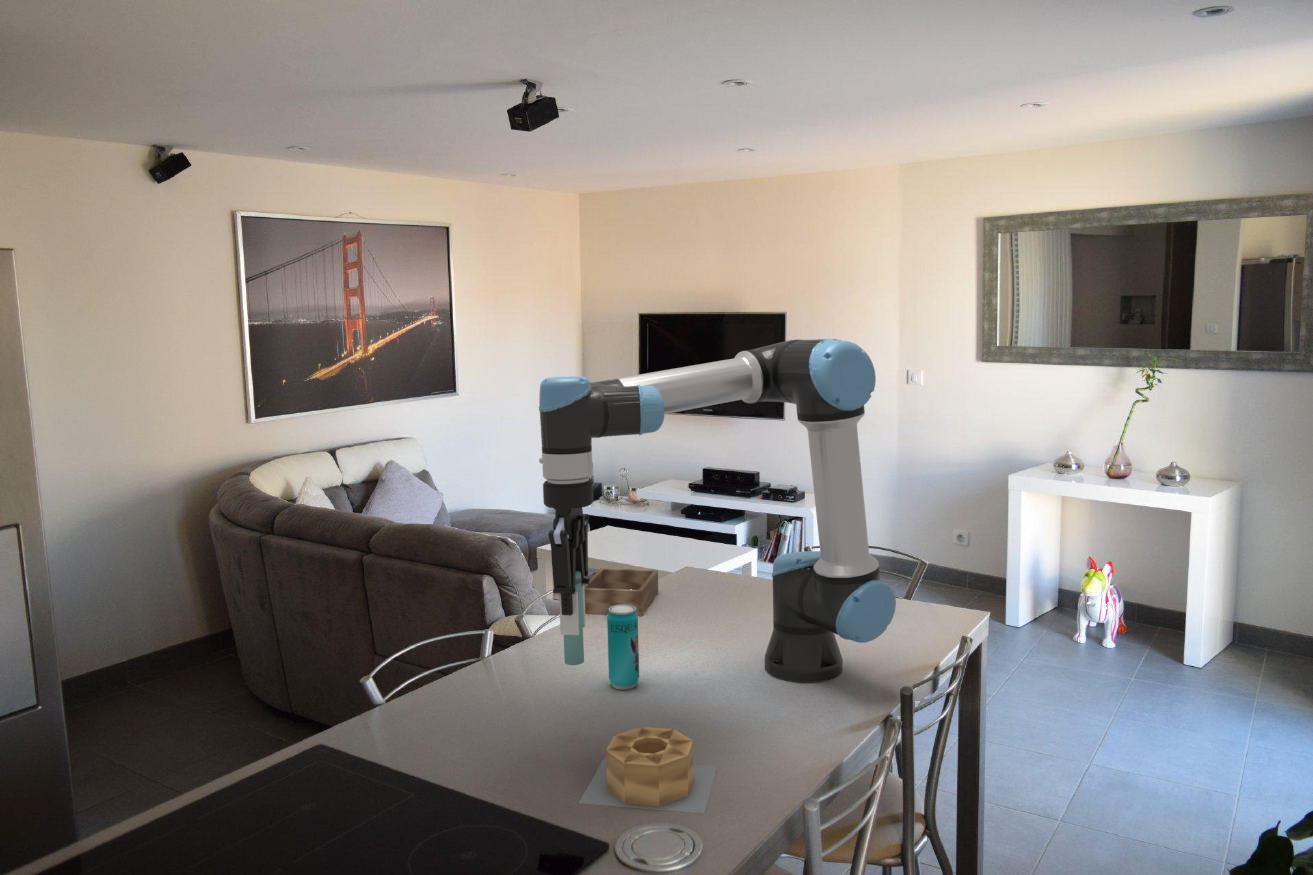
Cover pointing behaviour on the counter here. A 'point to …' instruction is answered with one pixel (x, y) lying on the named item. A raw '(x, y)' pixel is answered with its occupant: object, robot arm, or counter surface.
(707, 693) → the counter surface
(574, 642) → the teal capped bottle
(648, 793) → the wooden bead
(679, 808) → the slate mat
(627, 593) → the open wooden box
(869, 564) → the robot arm
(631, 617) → the beverage can
